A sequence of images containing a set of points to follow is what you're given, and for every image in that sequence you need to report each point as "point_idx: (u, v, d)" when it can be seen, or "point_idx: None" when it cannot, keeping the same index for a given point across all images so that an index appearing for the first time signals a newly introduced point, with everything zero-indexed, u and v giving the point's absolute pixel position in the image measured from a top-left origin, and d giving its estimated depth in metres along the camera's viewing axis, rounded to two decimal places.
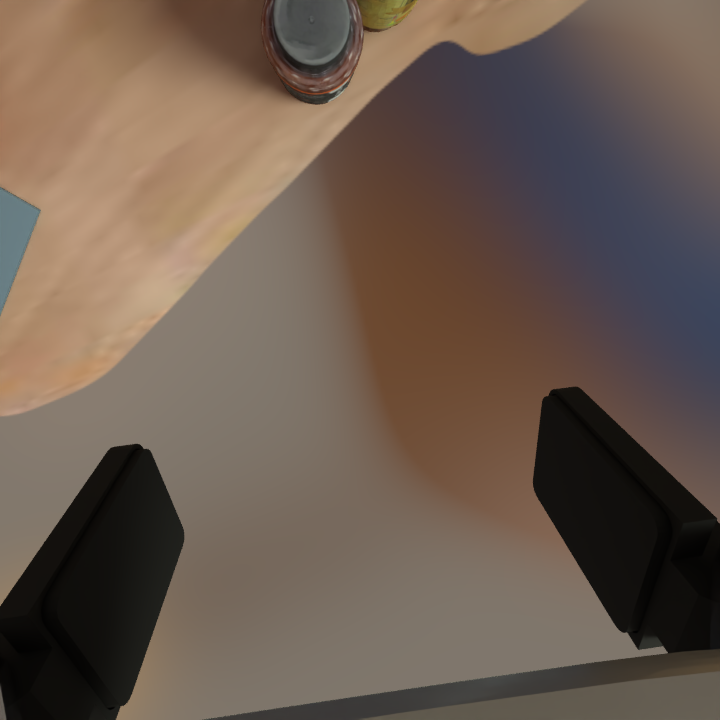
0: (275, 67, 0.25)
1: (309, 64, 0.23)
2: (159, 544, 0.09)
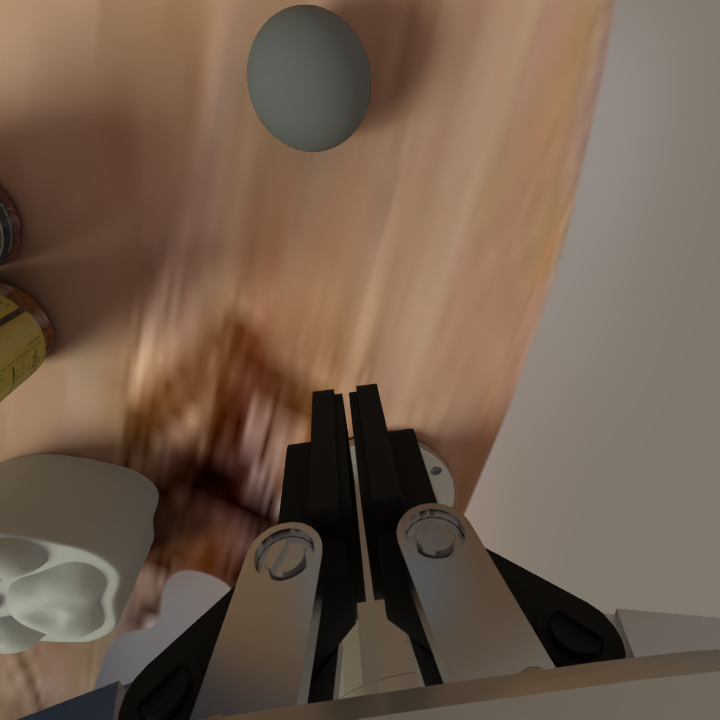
0: None
1: None
2: None
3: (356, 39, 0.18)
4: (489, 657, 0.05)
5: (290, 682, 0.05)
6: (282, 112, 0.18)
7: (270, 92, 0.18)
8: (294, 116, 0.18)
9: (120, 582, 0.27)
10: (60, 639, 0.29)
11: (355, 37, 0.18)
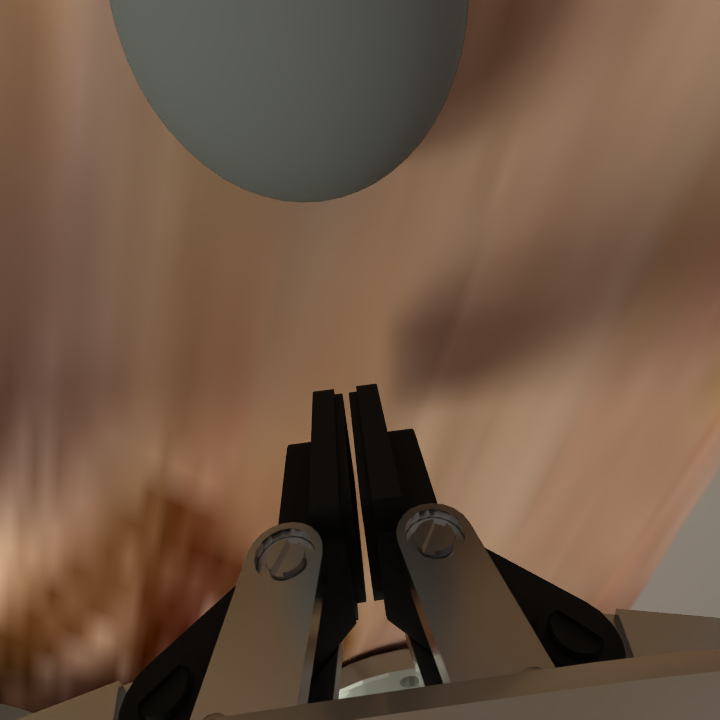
0: None
1: None
2: None
3: None
4: (489, 658, 0.05)
5: (290, 682, 0.05)
6: (204, 95, 0.06)
7: (158, 26, 0.05)
8: (242, 108, 0.06)
9: None
10: None
11: None
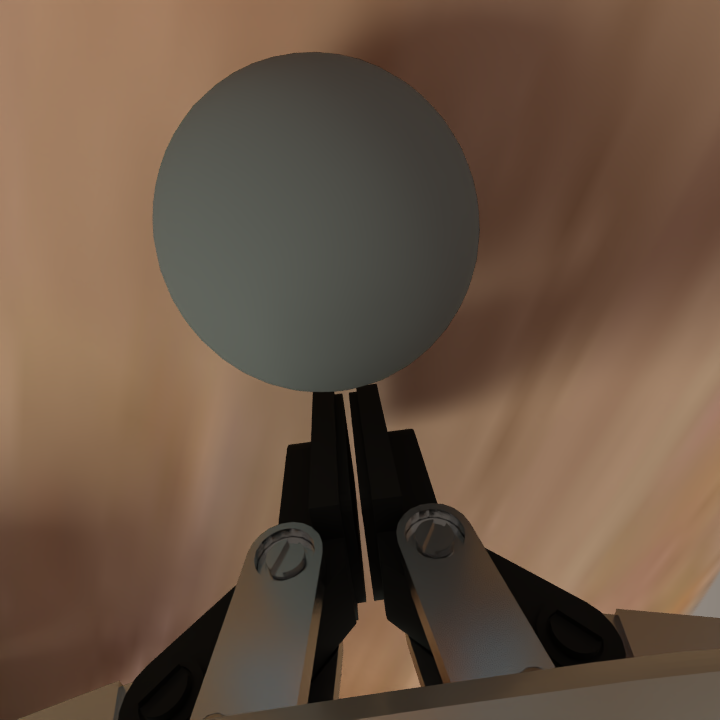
0: None
1: None
2: None
3: None
4: (489, 657, 0.05)
5: (290, 682, 0.05)
6: None
7: None
8: None
9: None
10: None
11: None
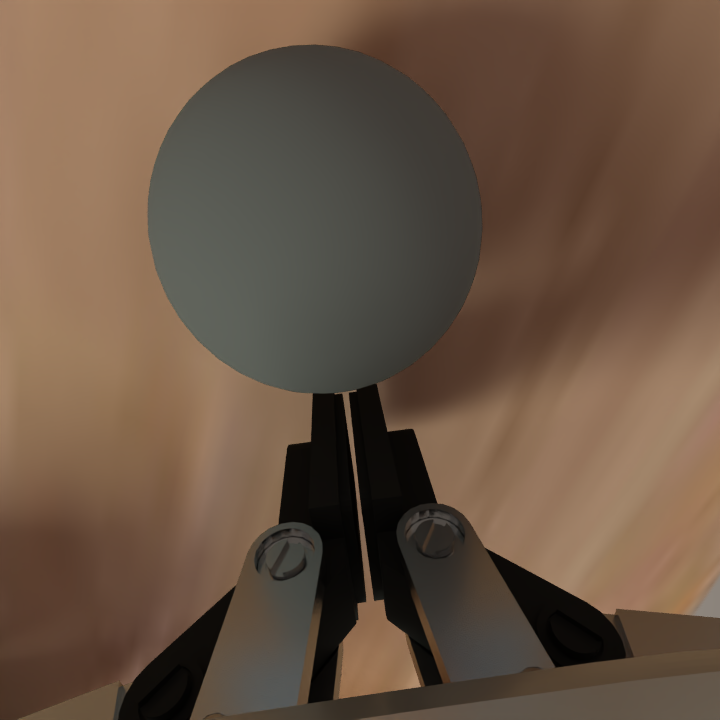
0: None
1: None
2: None
3: None
4: (489, 657, 0.05)
5: (290, 682, 0.05)
6: None
7: None
8: None
9: None
10: None
11: None
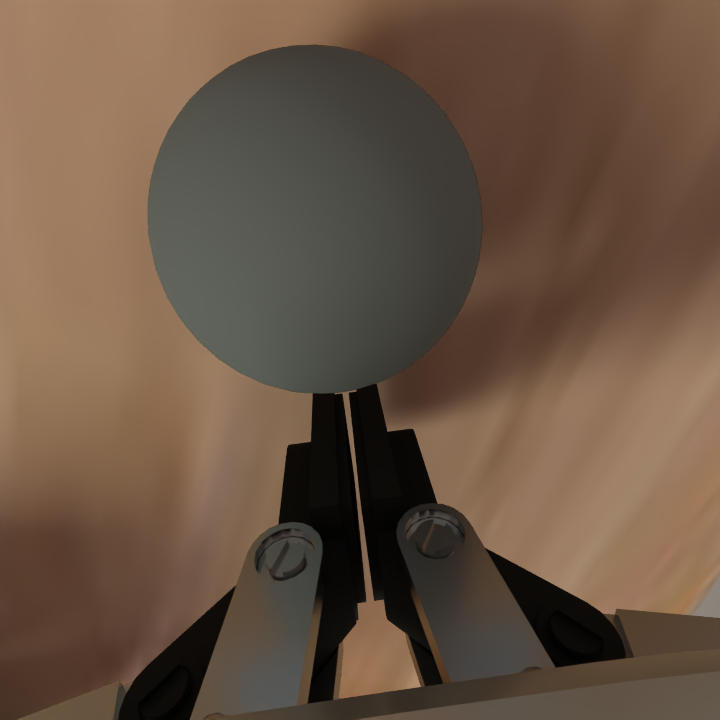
0: None
1: None
2: None
3: None
4: (489, 657, 0.05)
5: (290, 682, 0.05)
6: None
7: None
8: None
9: None
10: None
11: None
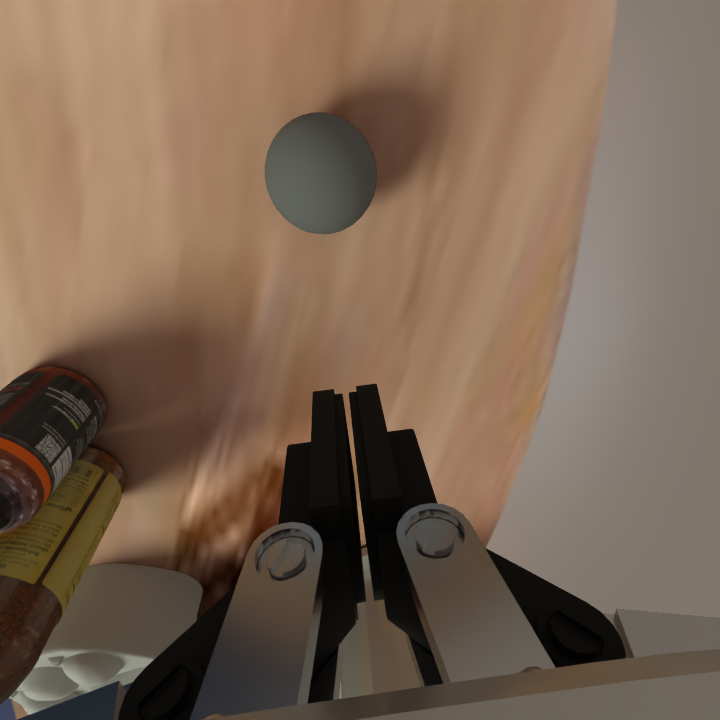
0: None
1: None
2: None
3: None
4: (489, 657, 0.05)
5: (290, 682, 0.05)
6: None
7: None
8: None
9: None
10: None
11: None
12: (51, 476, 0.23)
